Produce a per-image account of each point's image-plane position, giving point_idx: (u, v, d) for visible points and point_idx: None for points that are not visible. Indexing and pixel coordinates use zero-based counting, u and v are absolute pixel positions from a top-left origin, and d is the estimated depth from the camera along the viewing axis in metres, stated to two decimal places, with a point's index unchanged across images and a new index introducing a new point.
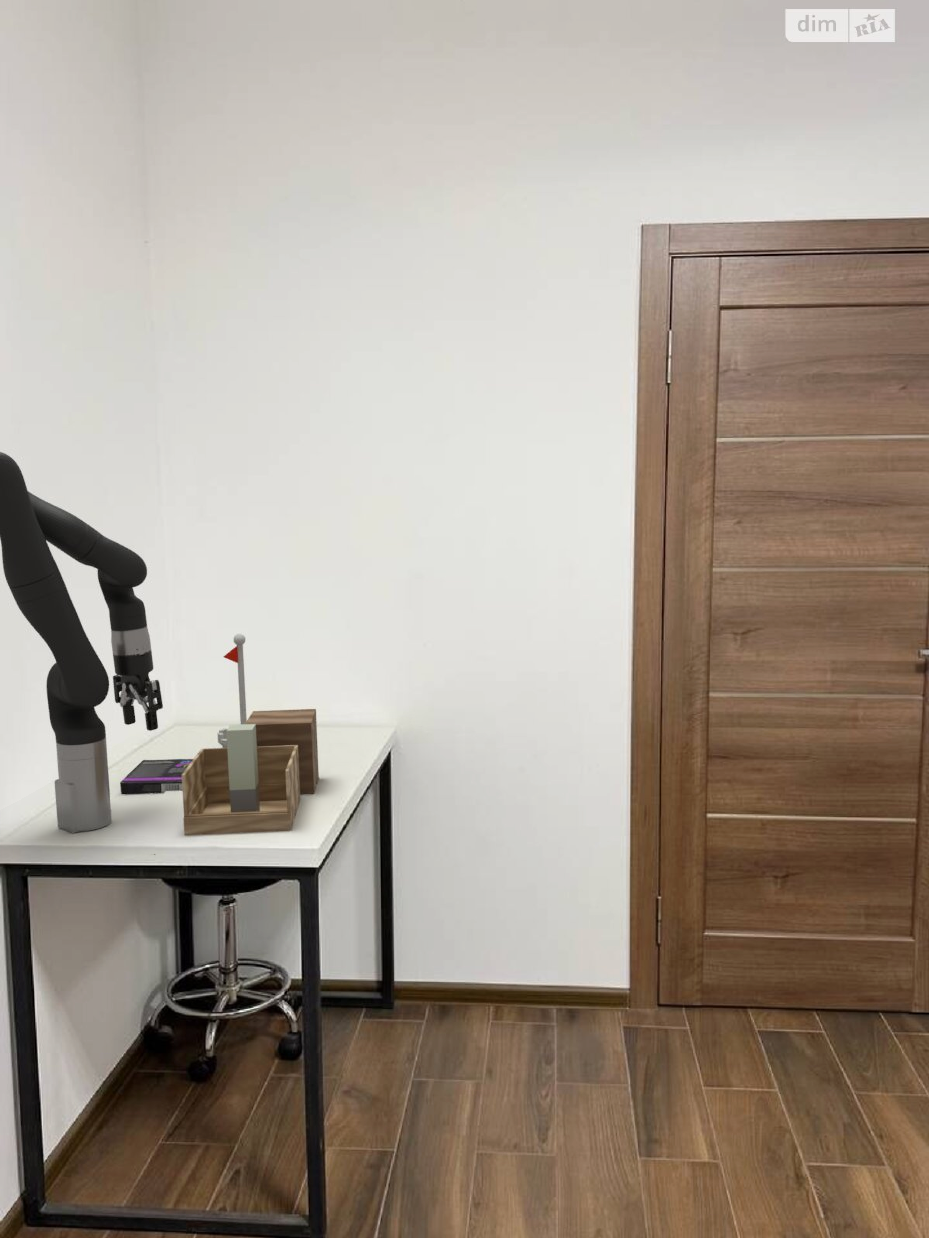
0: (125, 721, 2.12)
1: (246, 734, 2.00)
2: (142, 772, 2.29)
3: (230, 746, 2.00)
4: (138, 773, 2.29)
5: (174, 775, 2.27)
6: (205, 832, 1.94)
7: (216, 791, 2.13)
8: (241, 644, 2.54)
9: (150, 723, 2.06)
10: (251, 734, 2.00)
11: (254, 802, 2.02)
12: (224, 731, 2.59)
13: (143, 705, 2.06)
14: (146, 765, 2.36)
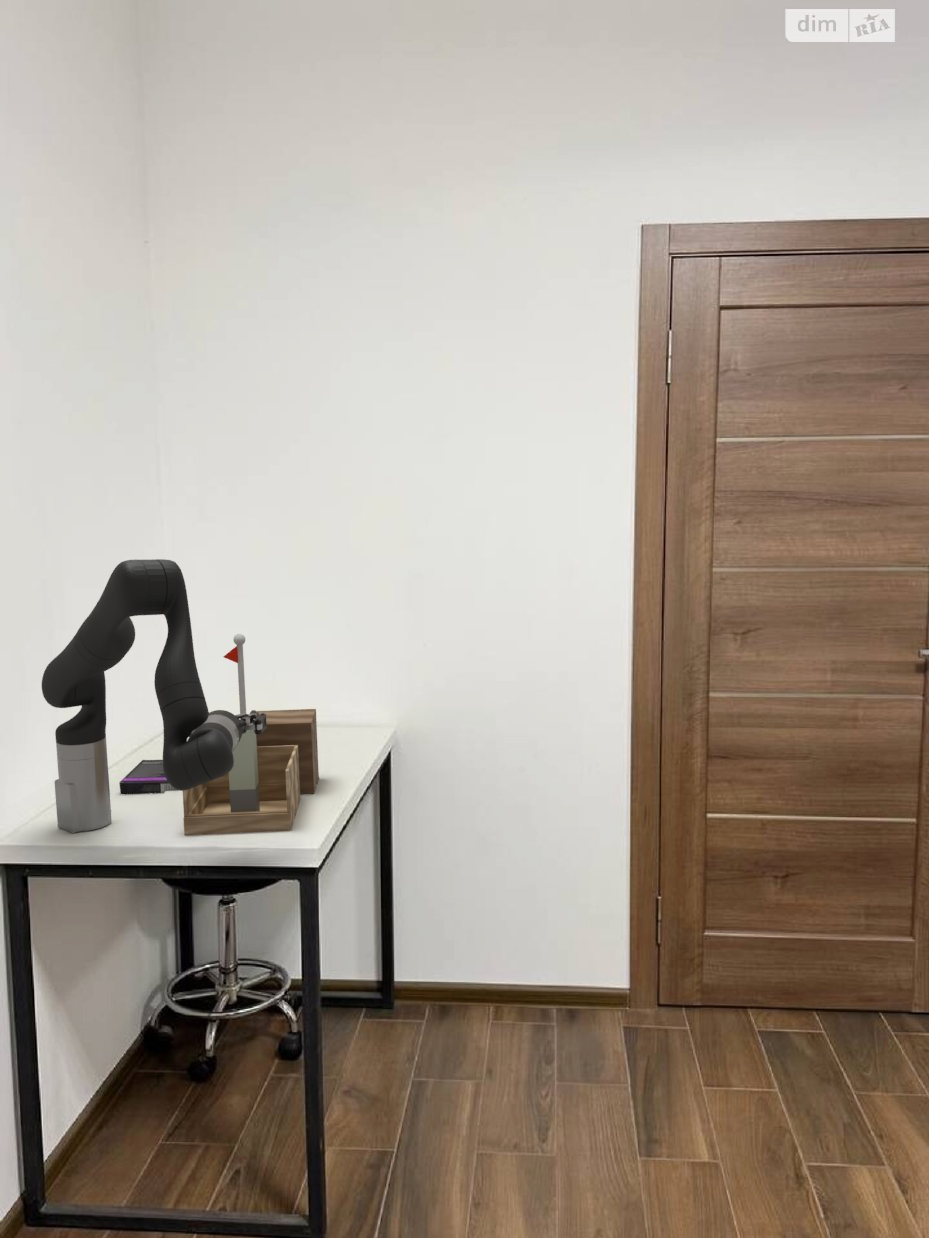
0: (252, 710, 1.89)
1: (246, 734, 2.00)
2: (141, 772, 2.29)
3: None
4: (137, 773, 2.29)
5: None
6: (205, 832, 1.94)
7: (216, 791, 2.13)
8: (241, 644, 2.54)
9: None
10: (251, 734, 2.00)
11: (254, 802, 2.02)
12: None
13: None
14: (145, 765, 2.36)
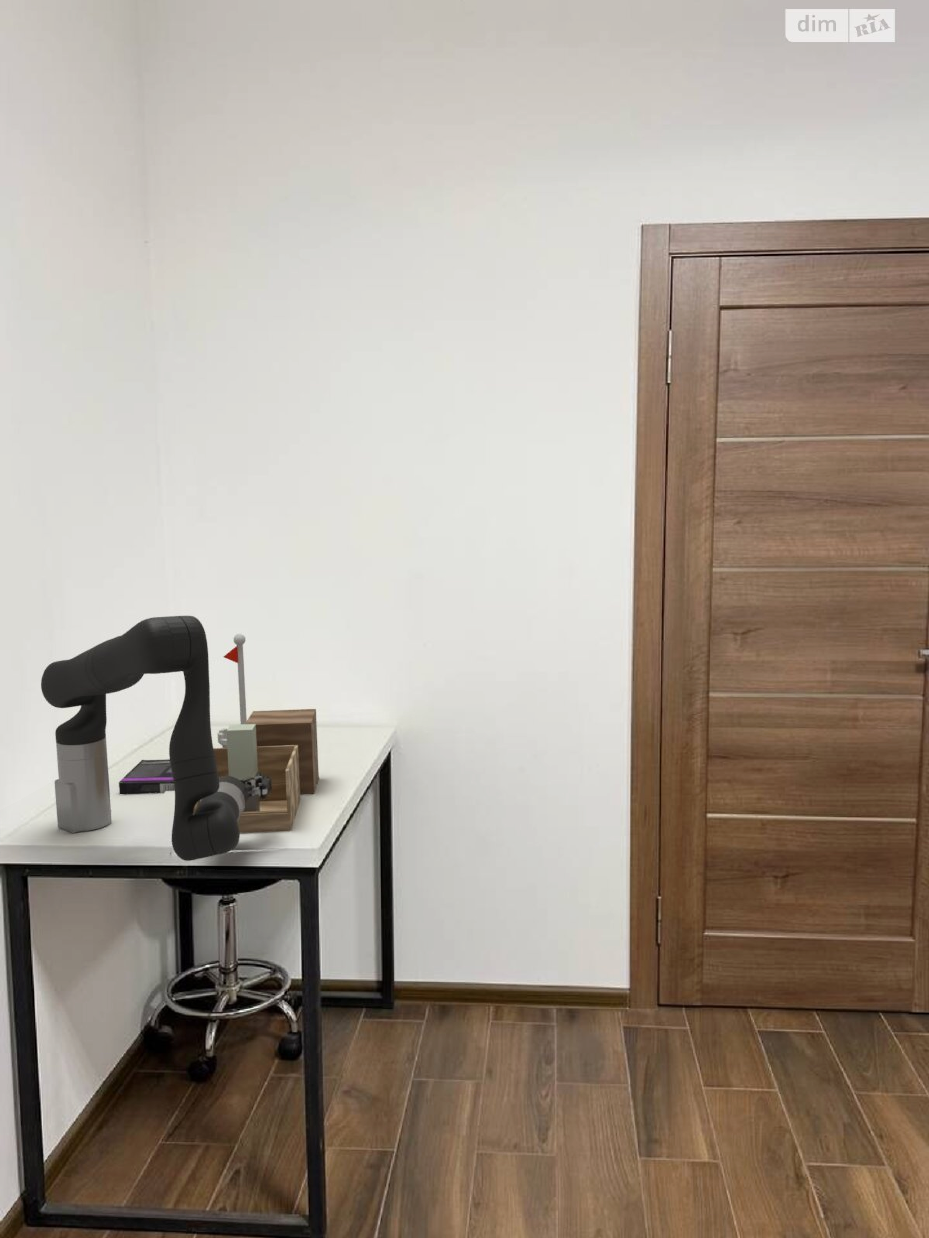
0: (258, 772, 1.95)
1: (246, 734, 2.00)
2: (140, 772, 2.29)
3: (230, 746, 2.00)
4: (137, 773, 2.29)
5: None
6: None
7: None
8: (241, 644, 2.54)
9: None
10: (251, 734, 2.00)
11: (254, 802, 2.02)
12: (224, 731, 2.59)
13: None
14: (145, 765, 2.36)
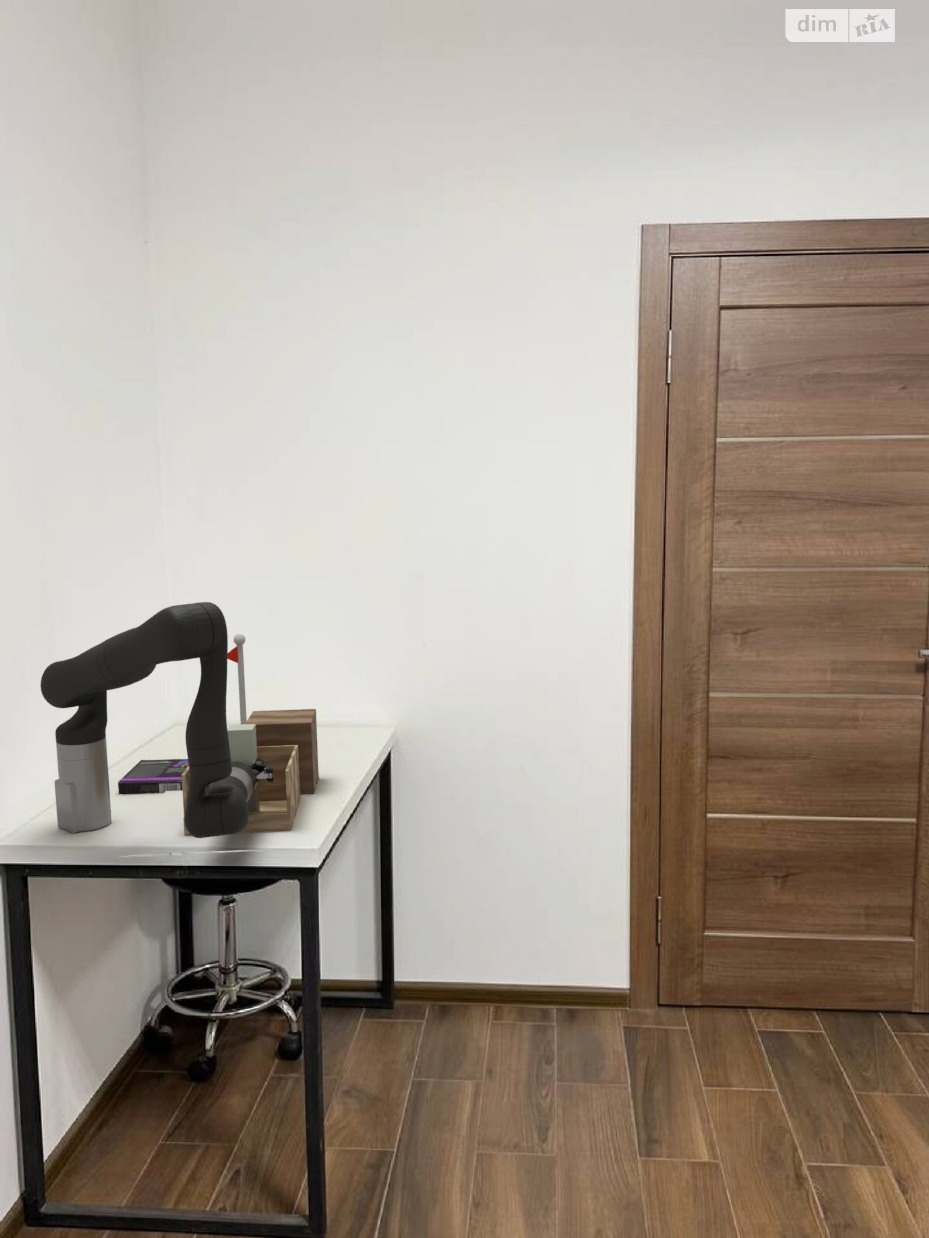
0: (257, 758, 2.05)
1: (246, 734, 2.00)
2: (139, 772, 2.29)
3: (230, 746, 2.00)
4: (136, 773, 2.29)
5: (172, 775, 2.27)
6: None
7: None
8: (241, 644, 2.54)
9: None
10: (251, 734, 2.00)
11: (254, 802, 2.02)
12: None
13: None
14: (144, 765, 2.36)
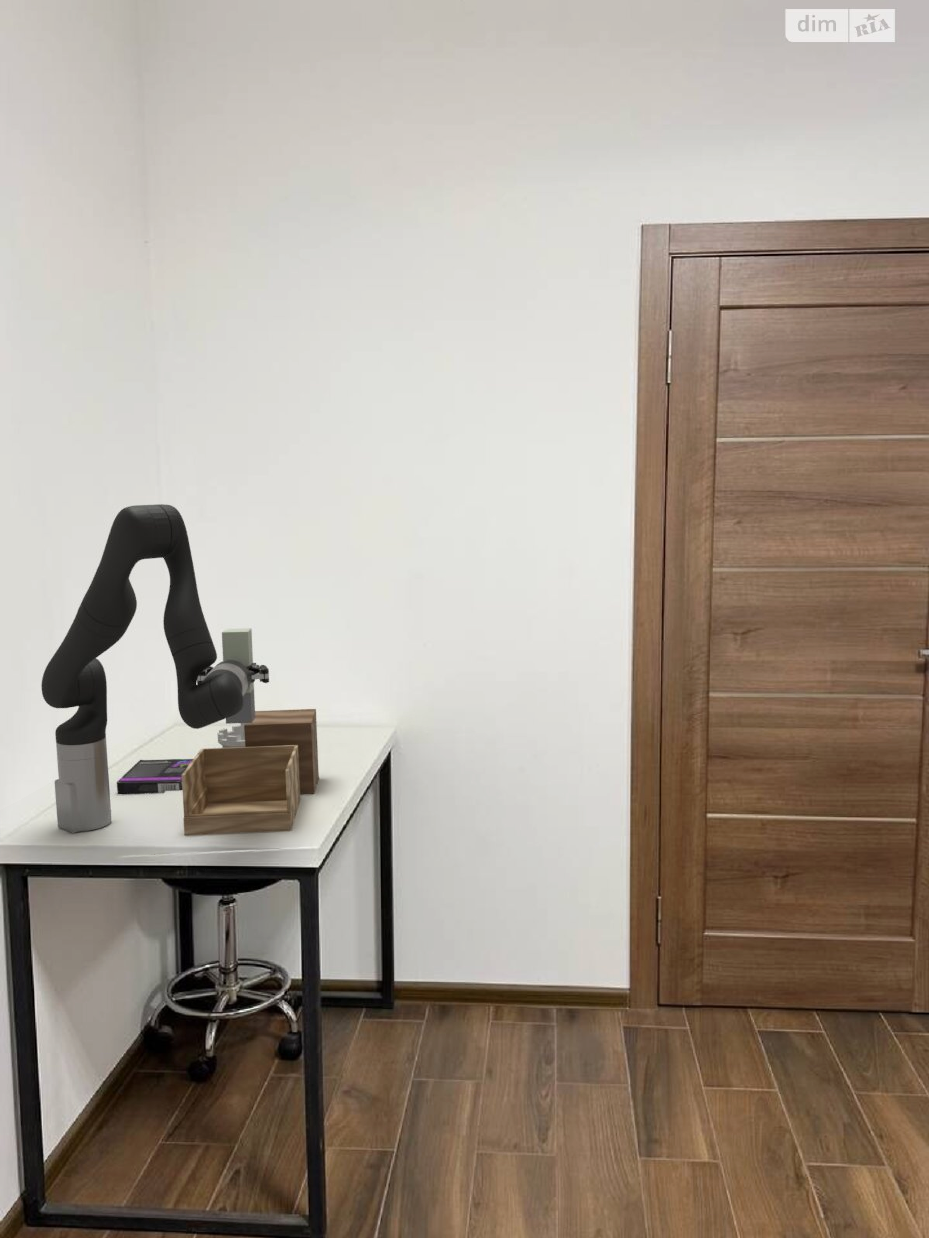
0: (253, 663, 2.03)
1: (242, 636, 1.98)
2: (138, 772, 2.29)
3: (226, 649, 1.98)
4: (135, 773, 2.29)
5: (171, 775, 2.27)
6: (205, 832, 1.94)
7: (216, 791, 2.13)
8: None
9: None
10: (247, 636, 1.98)
11: (249, 706, 1.99)
12: (224, 731, 2.59)
13: None
14: (143, 765, 2.36)
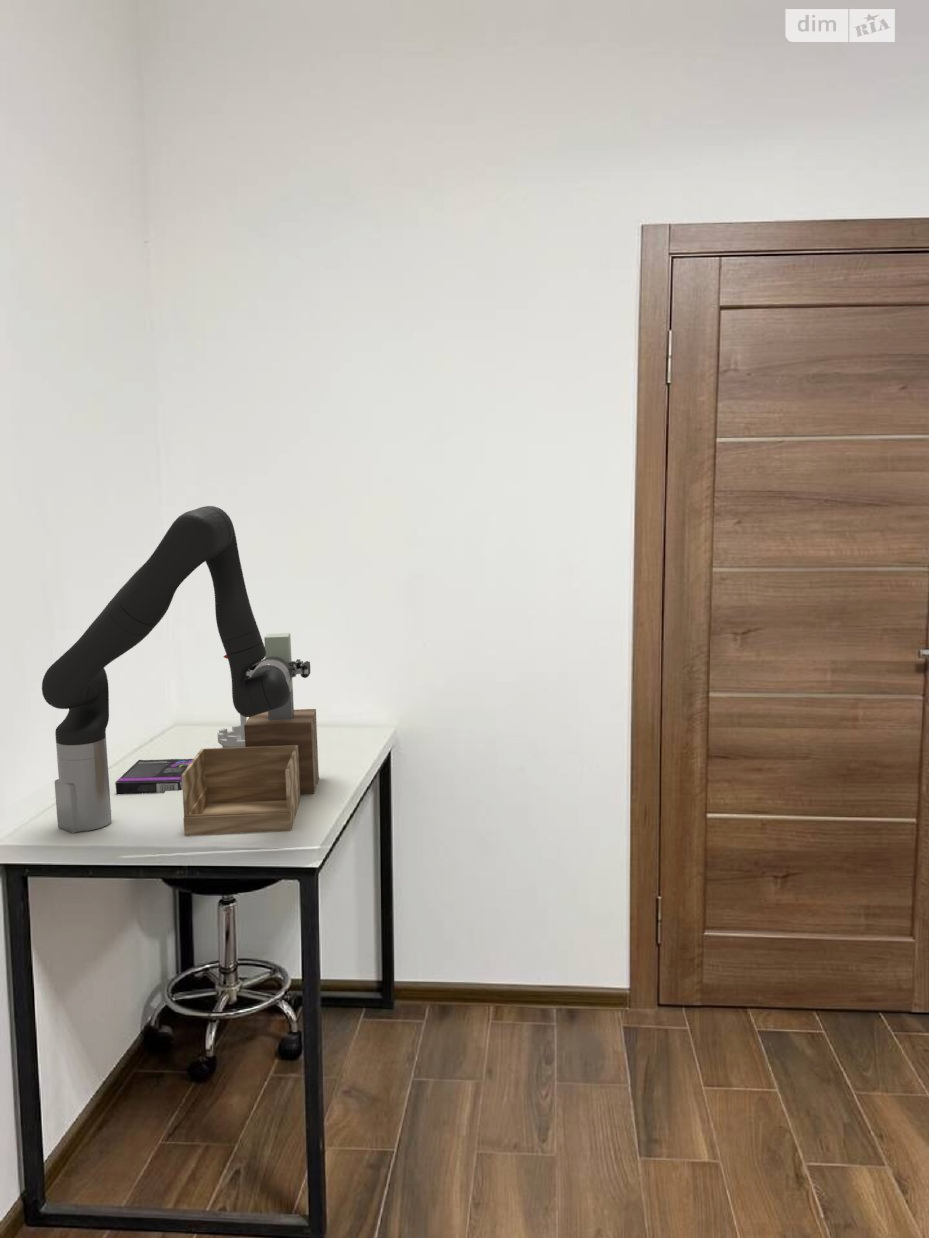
0: (298, 659, 2.23)
1: (282, 641, 2.18)
2: (137, 772, 2.30)
3: (268, 652, 2.18)
4: (133, 773, 2.29)
5: (169, 775, 2.28)
6: (205, 832, 1.94)
7: (216, 791, 2.13)
8: None
9: None
10: (287, 641, 2.18)
11: (289, 704, 2.20)
12: (224, 731, 2.59)
13: None
14: (141, 765, 2.36)
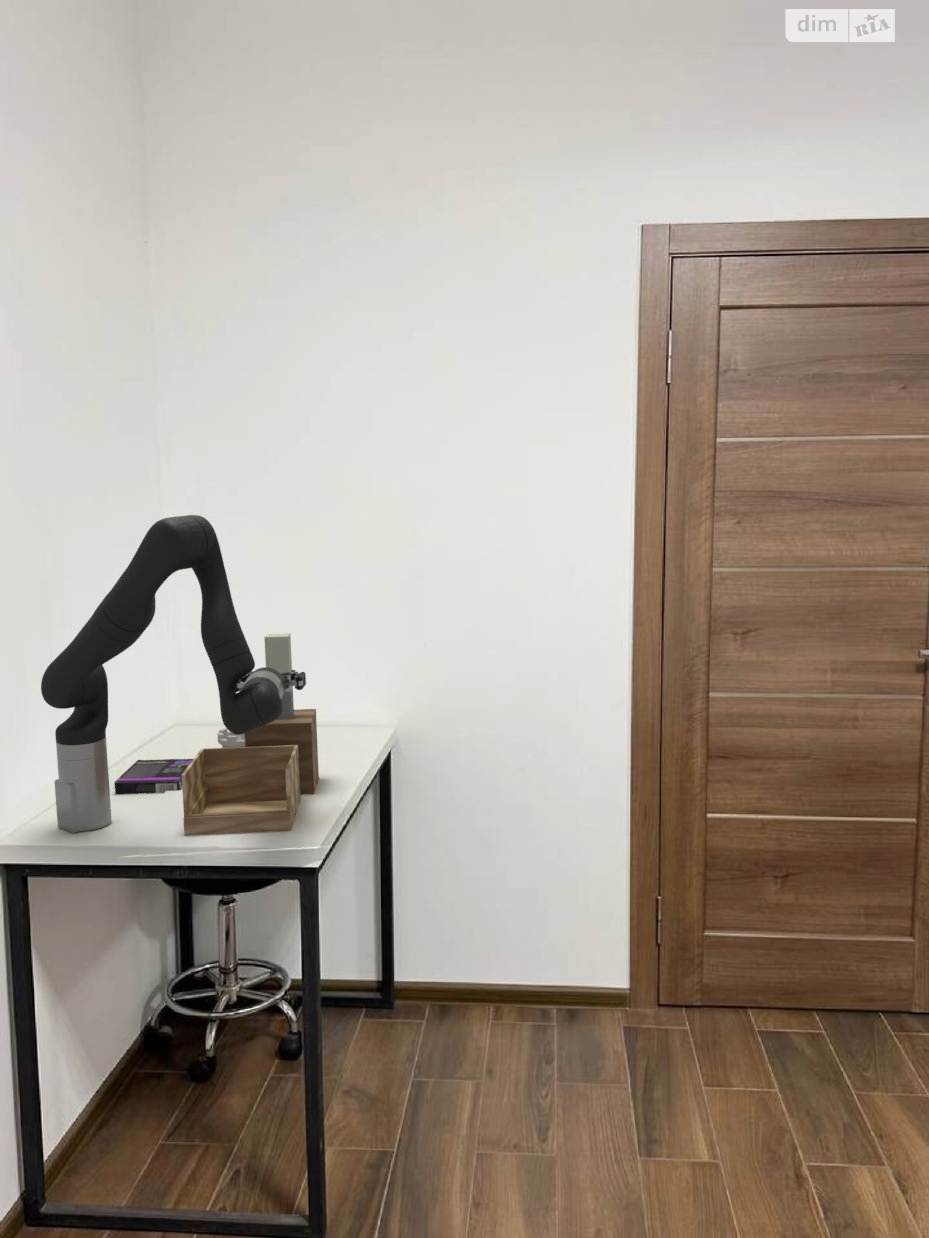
0: (292, 670, 2.09)
1: (283, 641, 2.18)
2: (136, 772, 2.30)
3: (268, 652, 2.18)
4: (132, 773, 2.29)
5: (168, 775, 2.28)
6: (205, 832, 1.94)
7: (216, 791, 2.13)
8: None
9: None
10: (287, 640, 2.18)
11: (289, 704, 2.20)
12: (224, 731, 2.59)
13: None
14: (141, 765, 2.36)
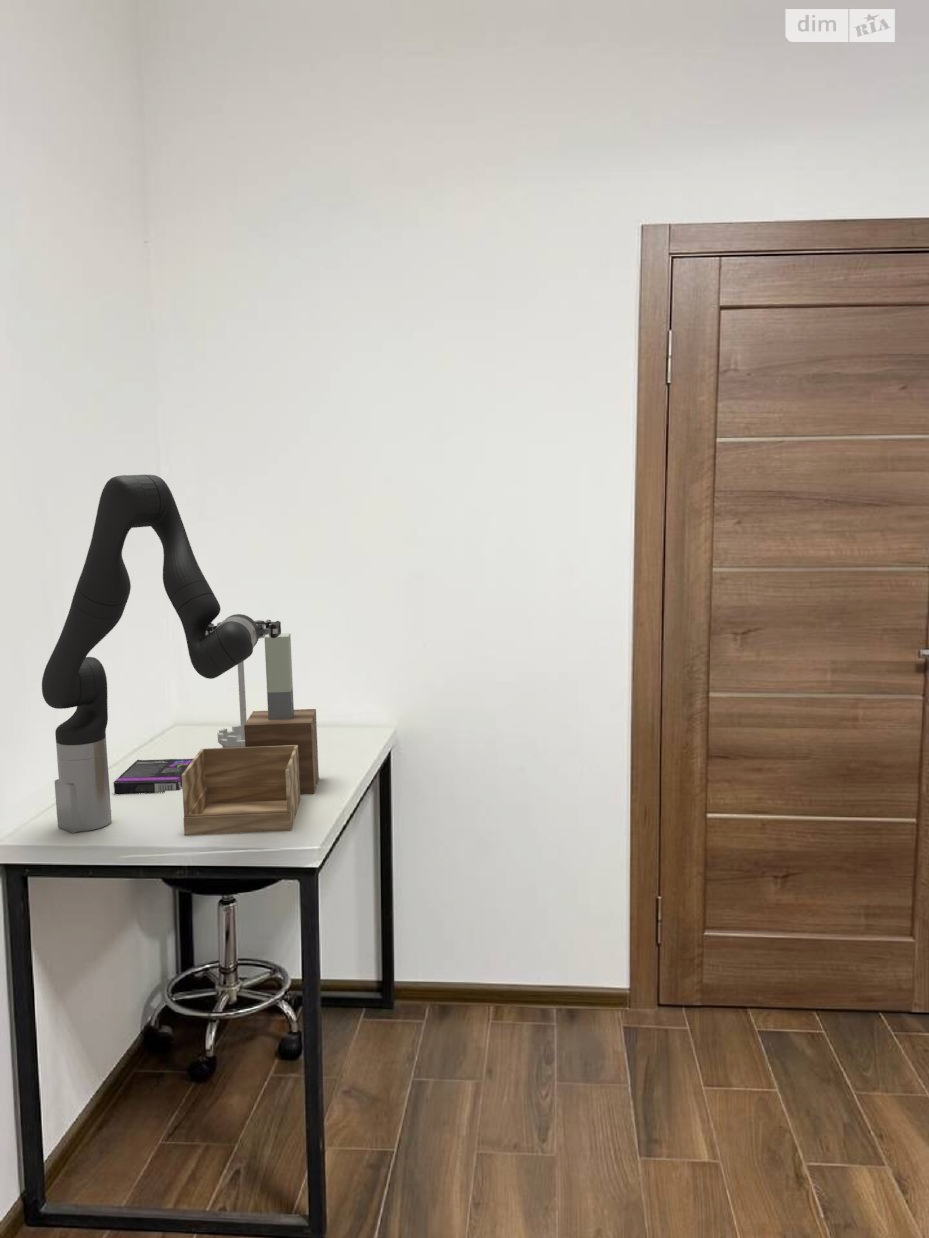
0: None
1: (283, 641, 2.18)
2: (135, 772, 2.30)
3: (268, 652, 2.18)
4: (132, 773, 2.29)
5: (167, 775, 2.28)
6: (205, 832, 1.94)
7: (216, 791, 2.13)
8: None
9: None
10: (287, 640, 2.18)
11: (289, 704, 2.20)
12: (224, 731, 2.59)
13: None
14: (140, 765, 2.36)
